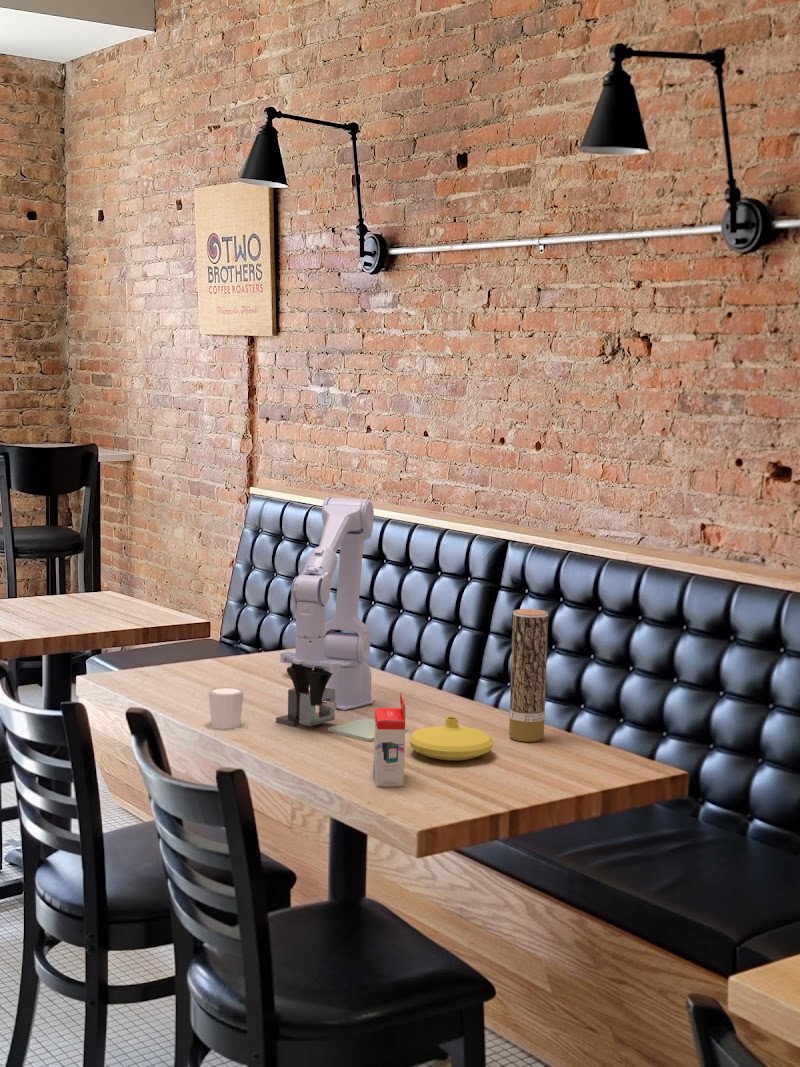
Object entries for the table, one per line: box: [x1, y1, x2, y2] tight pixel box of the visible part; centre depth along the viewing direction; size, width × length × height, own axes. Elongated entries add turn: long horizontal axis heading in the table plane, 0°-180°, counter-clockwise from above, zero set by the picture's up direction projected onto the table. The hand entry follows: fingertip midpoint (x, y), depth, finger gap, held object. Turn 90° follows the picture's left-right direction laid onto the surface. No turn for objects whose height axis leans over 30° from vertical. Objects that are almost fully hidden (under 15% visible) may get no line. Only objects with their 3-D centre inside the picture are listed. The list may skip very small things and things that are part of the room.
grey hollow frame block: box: [299, 686, 336, 727], centre depth 266 cm, size 7×3×6 cm, turn 140°
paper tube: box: [508, 608, 549, 743], centre depth 260 cm, size 7×7×25 cm
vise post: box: [275, 687, 337, 728], centre depth 267 cm, size 7×13×7 cm, turn 50°
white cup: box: [208, 686, 245, 730], centre depth 265 cm, size 7×7×7 cm
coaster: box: [327, 717, 408, 743], centre depth 264 cm, size 11×11×1 cm
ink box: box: [372, 692, 406, 788], centre depth 231 cm, size 8×5×15 cm, turn 5°
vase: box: [408, 716, 495, 761], centre depth 248 cm, size 16×16×7 cm
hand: (309, 703), depth 264 cm, fingers closed on grey hollow frame block, 3 cm apart
